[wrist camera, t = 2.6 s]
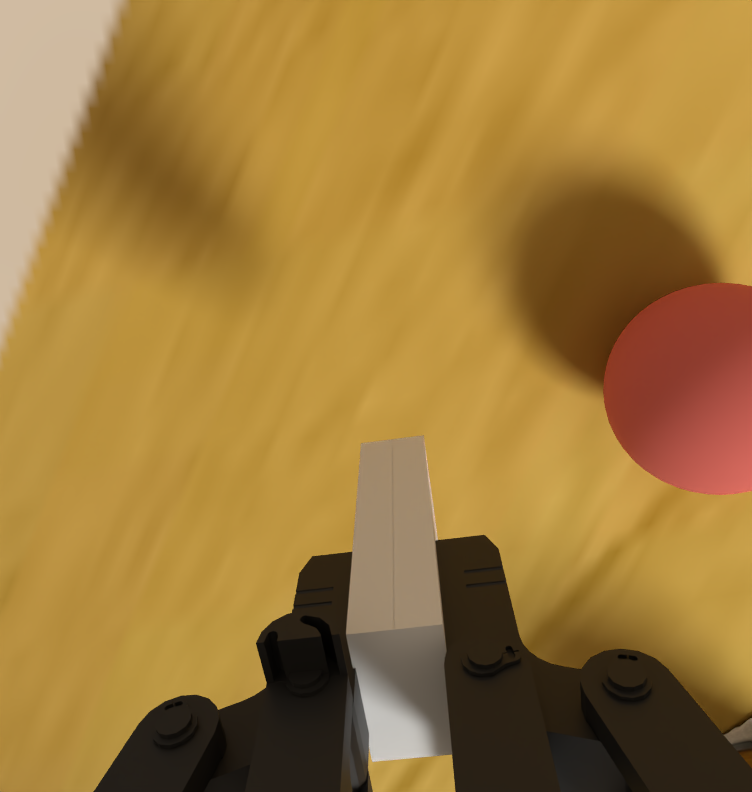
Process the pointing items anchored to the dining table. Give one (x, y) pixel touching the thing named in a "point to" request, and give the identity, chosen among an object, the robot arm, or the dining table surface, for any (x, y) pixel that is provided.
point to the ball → (687, 388)
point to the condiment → (742, 740)
